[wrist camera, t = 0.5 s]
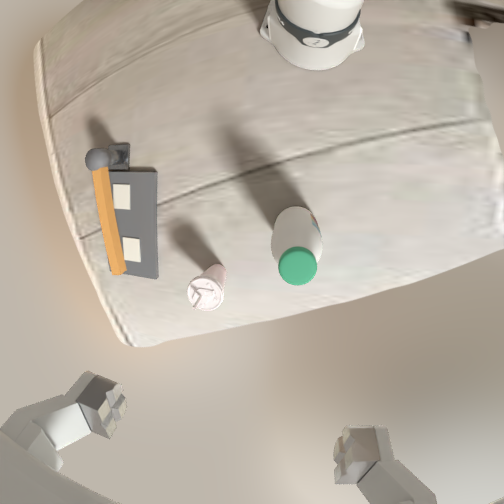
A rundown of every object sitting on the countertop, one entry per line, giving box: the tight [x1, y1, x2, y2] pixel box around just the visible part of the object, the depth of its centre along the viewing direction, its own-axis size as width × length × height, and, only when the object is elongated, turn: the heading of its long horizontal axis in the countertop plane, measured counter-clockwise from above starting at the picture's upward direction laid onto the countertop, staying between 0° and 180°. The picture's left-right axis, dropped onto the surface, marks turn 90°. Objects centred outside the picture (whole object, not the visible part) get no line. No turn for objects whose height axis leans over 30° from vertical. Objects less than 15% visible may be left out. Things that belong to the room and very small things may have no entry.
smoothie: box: [187, 264, 227, 311], centre depth 51 cm, size 6×6×14 cm
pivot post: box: [108, 145, 130, 169], centre depth 50 cm, size 5×5×6 cm
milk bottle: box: [271, 206, 323, 285], centre depth 43 cm, size 8×8×20 cm
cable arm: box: [85, 148, 127, 275], centre depth 49 cm, size 24×4×3 cm, turn 5°
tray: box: [108, 171, 159, 279], centre depth 56 cm, size 22×12×2 cm, turn 175°
